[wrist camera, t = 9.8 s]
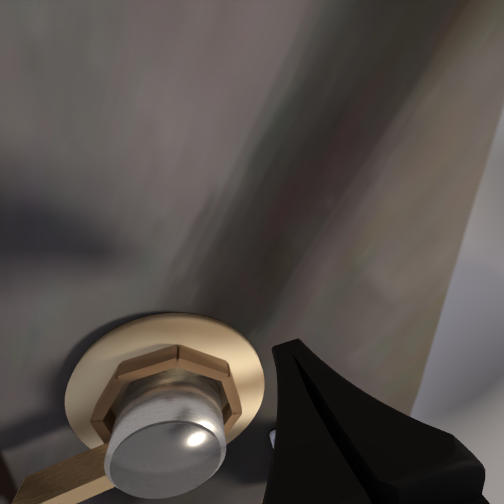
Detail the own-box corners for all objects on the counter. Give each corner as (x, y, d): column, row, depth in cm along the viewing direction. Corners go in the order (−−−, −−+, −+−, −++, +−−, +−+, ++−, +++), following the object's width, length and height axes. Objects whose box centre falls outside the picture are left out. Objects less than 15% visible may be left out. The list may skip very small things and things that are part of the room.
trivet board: (275, 420, 28) (282, 444, 26) (117, 476, 26) (110, 508, 24) (240, 288, 22) (246, 304, 19) (29, 350, 20) (8, 376, 18)
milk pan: (199, 350, 22) (201, 401, 17) (232, 413, 25) (241, 471, 20) (10, 427, 21) (-39, 503, 16) (71, 483, 24) (44, 559, 19)
